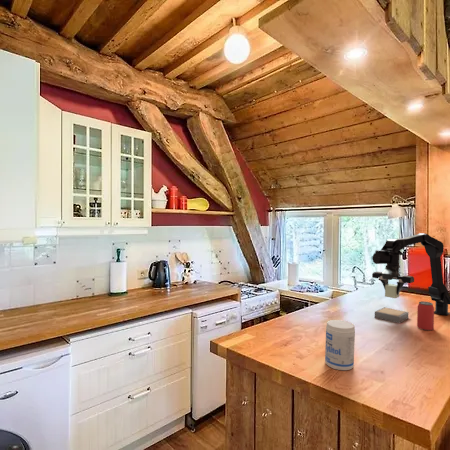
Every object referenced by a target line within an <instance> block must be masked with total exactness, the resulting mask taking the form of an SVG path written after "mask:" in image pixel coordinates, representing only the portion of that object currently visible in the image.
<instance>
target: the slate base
mask: <svg viewBox="0 0 450 450" xmlns="http://www.w3.org/2000/svg"><path fill="white" fill-rule="evenodd" d="M374 318H377V319H380V320H385V321H390V322H393V323H397V324H401V323H402V322H403V321H406V320H408V319H409V312H408V311H403V310H400V309H395V308H389V307H382V308H379V309H378V310H375V311H374Z"/></svg>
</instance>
